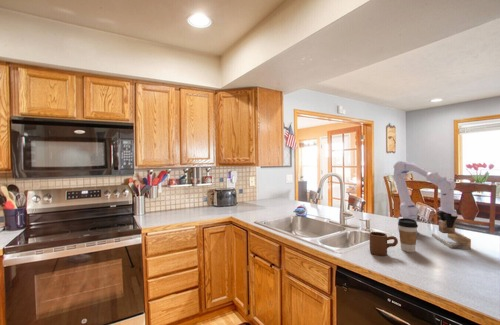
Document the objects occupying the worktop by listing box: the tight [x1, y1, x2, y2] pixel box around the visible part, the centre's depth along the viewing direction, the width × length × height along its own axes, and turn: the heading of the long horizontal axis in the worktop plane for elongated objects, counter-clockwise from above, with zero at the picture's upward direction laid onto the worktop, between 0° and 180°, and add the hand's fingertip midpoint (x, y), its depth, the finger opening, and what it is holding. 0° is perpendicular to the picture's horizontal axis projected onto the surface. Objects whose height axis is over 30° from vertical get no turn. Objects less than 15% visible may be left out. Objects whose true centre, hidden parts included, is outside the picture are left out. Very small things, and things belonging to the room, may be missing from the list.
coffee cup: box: [397, 218, 419, 253], centre depth 120 cm, size 8×8×15 cm
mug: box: [369, 231, 399, 257], centre depth 116 cm, size 12×8×9 cm, turn 62°
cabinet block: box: [438, 219, 456, 235], centre depth 132 cm, size 6×4×7 cm
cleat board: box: [431, 230, 472, 250], centre depth 130 cm, size 9×19×5 cm, turn 165°
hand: (447, 226), depth 132 cm, fingers closed on cabinet block, 4 cm apart
